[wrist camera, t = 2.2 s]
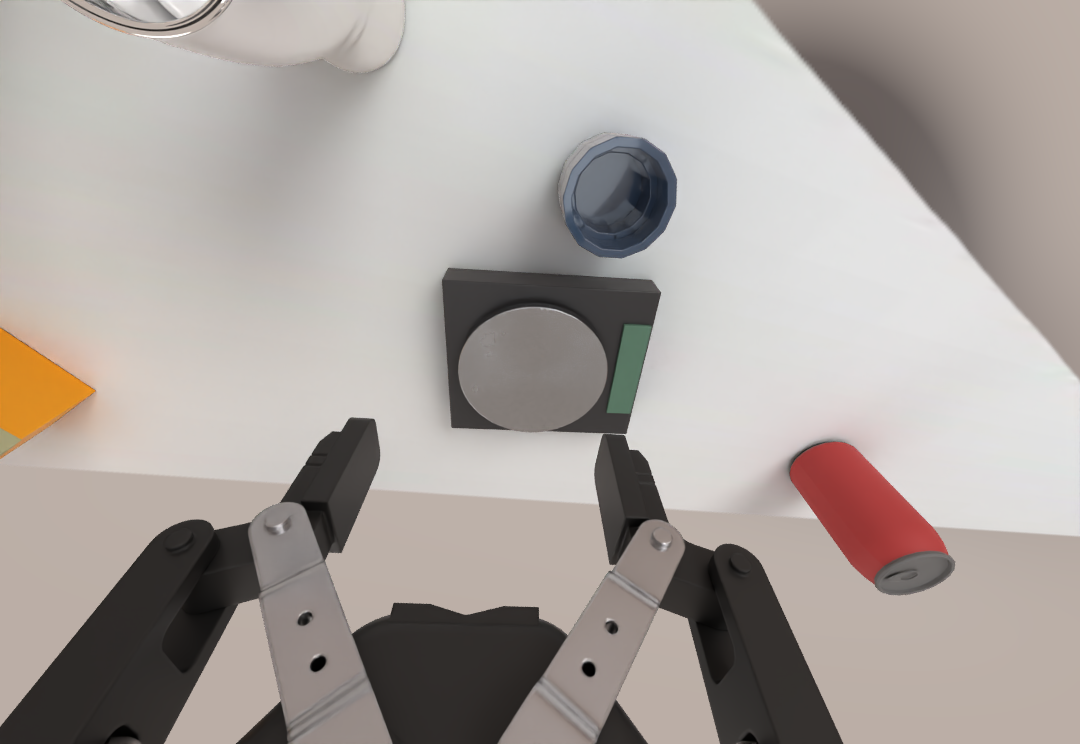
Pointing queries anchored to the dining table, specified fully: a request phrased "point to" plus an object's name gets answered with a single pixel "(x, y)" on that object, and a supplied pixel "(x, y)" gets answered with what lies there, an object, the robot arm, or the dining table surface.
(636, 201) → the cup
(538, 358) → the platter
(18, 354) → the orange juice
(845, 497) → the beer can
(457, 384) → the scale
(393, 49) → the beer glass
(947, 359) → the dining table surface
